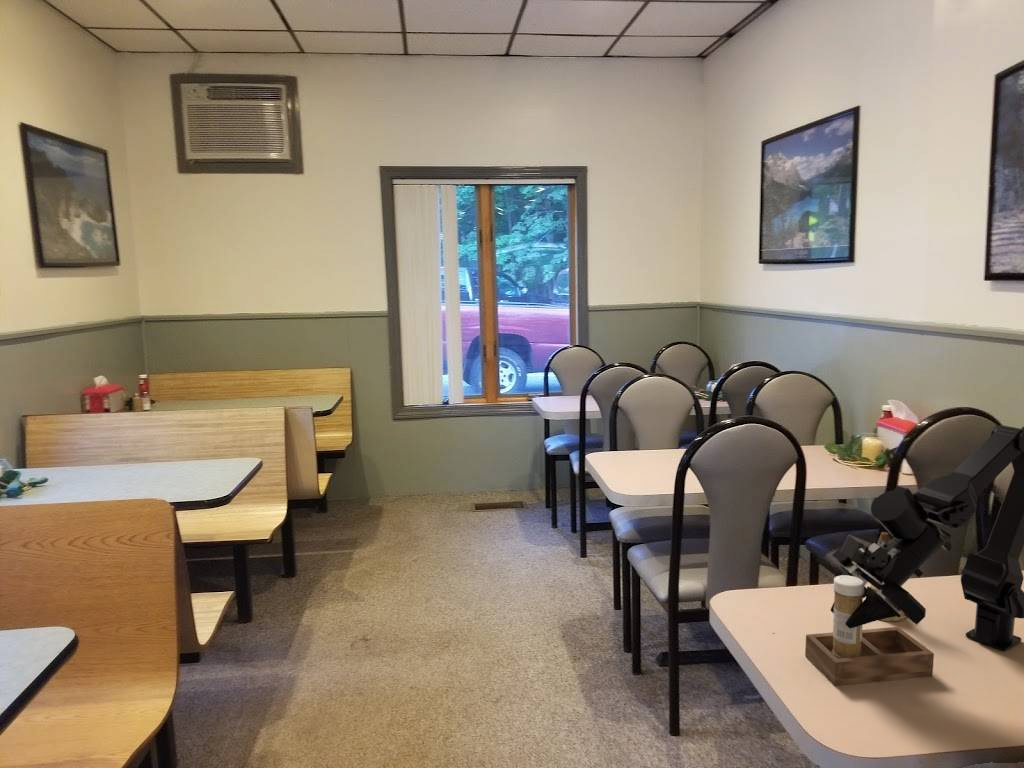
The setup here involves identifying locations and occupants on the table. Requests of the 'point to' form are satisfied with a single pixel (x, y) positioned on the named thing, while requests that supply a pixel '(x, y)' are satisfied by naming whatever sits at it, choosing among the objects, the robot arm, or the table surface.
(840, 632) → the sprinkles bottle
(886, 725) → the table surface
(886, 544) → the robot arm
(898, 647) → the wooden compartment tray
